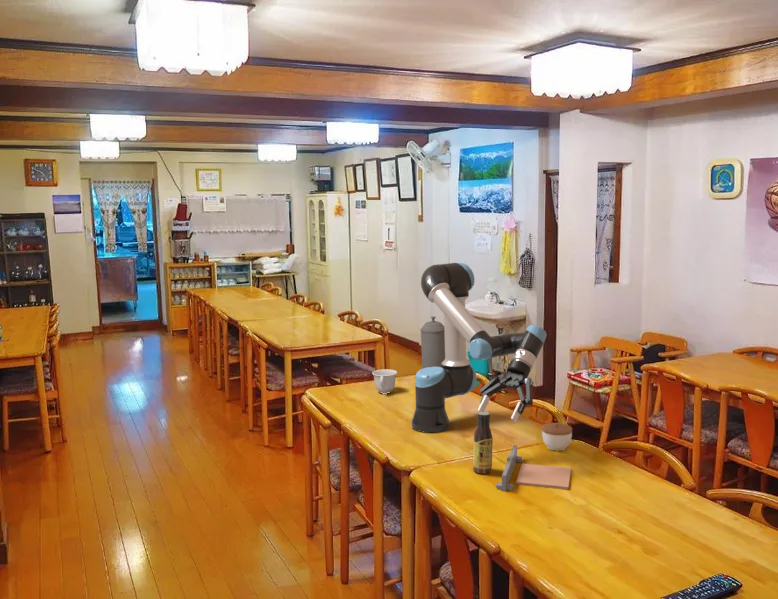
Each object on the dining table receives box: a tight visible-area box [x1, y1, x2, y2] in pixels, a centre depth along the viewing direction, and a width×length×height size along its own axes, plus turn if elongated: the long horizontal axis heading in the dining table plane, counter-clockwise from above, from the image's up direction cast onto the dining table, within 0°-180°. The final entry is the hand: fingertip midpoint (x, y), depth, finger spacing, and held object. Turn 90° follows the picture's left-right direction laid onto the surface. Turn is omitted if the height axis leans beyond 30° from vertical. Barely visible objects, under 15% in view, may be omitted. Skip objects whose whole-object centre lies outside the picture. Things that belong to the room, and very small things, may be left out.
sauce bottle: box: [472, 411, 494, 475], centre depth 225 cm, size 7×6×20 cm
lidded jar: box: [541, 422, 573, 451], centre depth 246 cm, size 11×11×9 cm
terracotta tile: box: [515, 462, 572, 490], centre depth 220 cm, size 16×16×1 cm
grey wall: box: [495, 444, 523, 492], centre depth 223 cm, size 5×28×5 cm, turn 162°
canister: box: [420, 316, 445, 369], centre depth 329 cm, size 13×13×35 cm
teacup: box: [371, 368, 398, 393], centre depth 322 cm, size 12×15×10 cm
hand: (496, 416), depth 229 cm, fingers open, 13 cm apart
